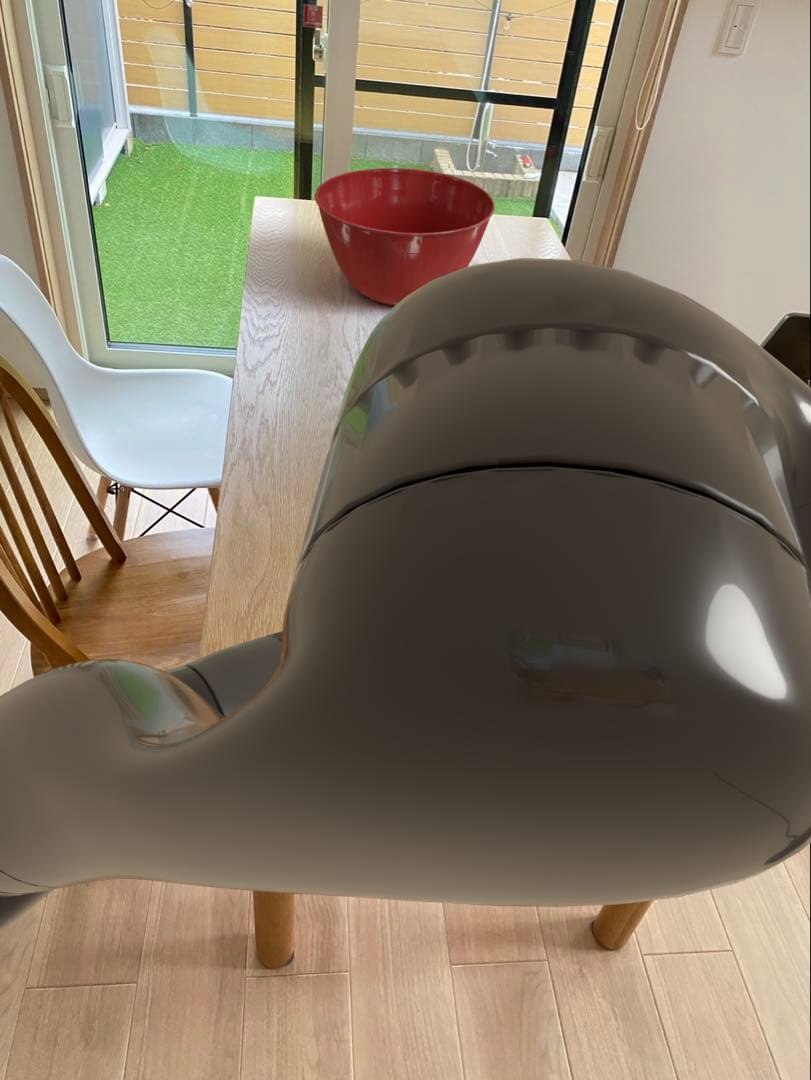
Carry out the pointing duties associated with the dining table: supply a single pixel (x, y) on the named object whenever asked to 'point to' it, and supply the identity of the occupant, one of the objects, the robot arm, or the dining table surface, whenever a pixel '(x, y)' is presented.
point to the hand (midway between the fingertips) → (485, 627)
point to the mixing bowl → (401, 227)
